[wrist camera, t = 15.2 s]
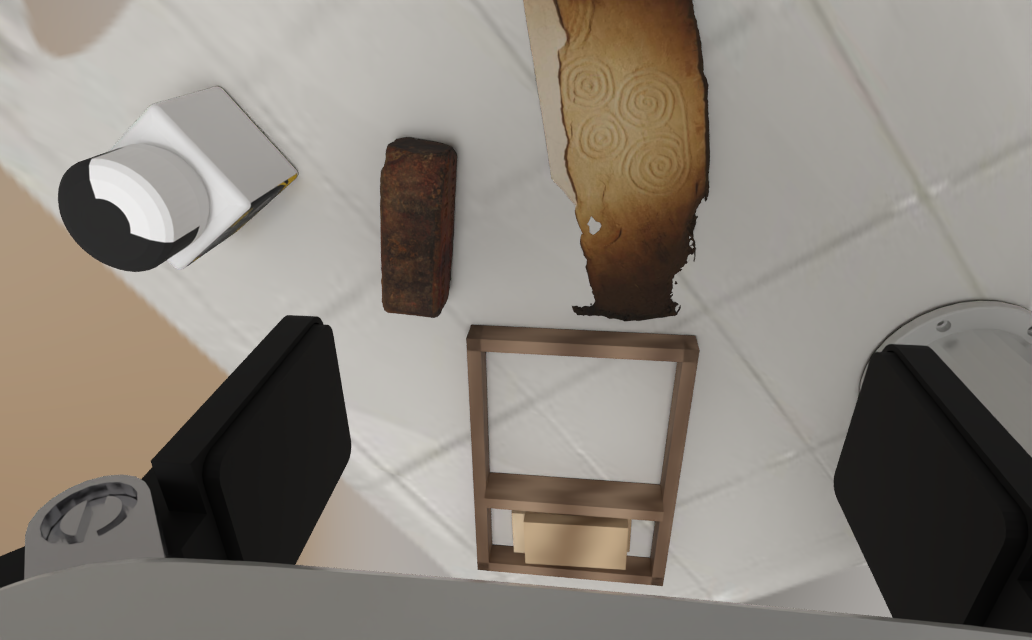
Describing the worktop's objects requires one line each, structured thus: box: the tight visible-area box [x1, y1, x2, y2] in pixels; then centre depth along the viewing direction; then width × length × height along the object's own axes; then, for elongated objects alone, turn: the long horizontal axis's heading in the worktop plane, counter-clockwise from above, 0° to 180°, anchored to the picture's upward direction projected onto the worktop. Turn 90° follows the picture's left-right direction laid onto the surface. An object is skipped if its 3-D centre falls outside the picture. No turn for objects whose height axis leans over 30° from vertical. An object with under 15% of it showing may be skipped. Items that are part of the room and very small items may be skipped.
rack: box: [466, 325, 699, 586], centre depth 49 cm, size 16×24×3 cm
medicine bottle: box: [58, 86, 298, 272], centre depth 37 cm, size 7×7×12 cm
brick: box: [380, 137, 457, 318], centre depth 40 cm, size 11×4×5 cm, turn 175°
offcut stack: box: [512, 510, 631, 570], centre depth 53 cm, size 10×5×3 cm, turn 92°
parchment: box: [523, 0, 710, 321], centre depth 38 cm, size 25×10×1 cm, turn 10°
